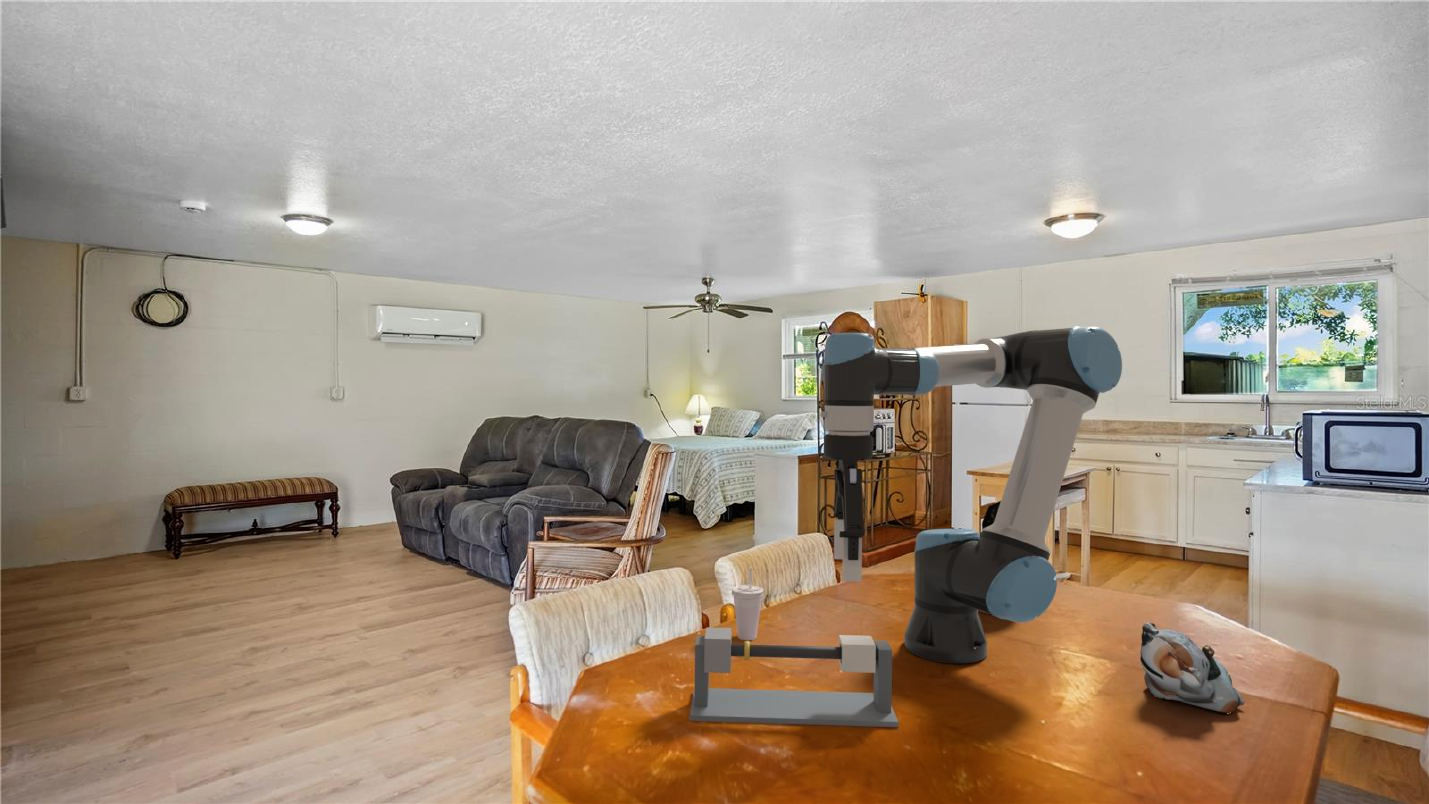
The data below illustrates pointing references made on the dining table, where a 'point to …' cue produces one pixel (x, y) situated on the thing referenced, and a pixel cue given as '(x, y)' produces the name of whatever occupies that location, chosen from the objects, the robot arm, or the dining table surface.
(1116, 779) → the dining table surface
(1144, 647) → the gray steam iron
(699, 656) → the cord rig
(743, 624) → the smoothie
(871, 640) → the sleeve
